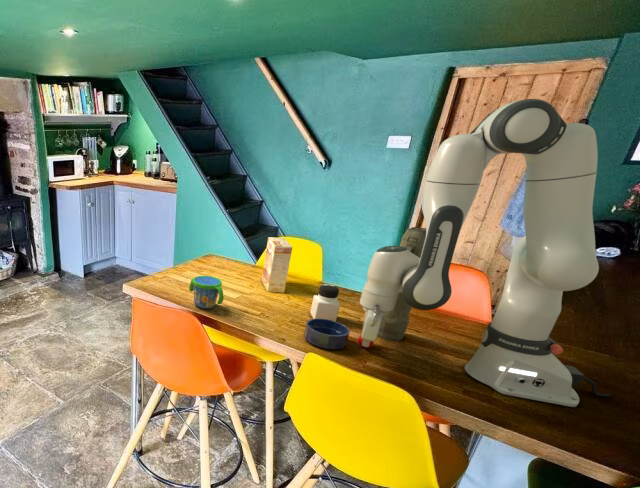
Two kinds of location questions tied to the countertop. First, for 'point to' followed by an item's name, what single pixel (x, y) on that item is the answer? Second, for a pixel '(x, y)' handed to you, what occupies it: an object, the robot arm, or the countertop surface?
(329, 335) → the bowl
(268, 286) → the coffeecake box
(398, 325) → the olive grey tall cylinder
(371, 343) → the tomato
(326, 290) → the medicine bottle
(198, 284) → the snack cup
